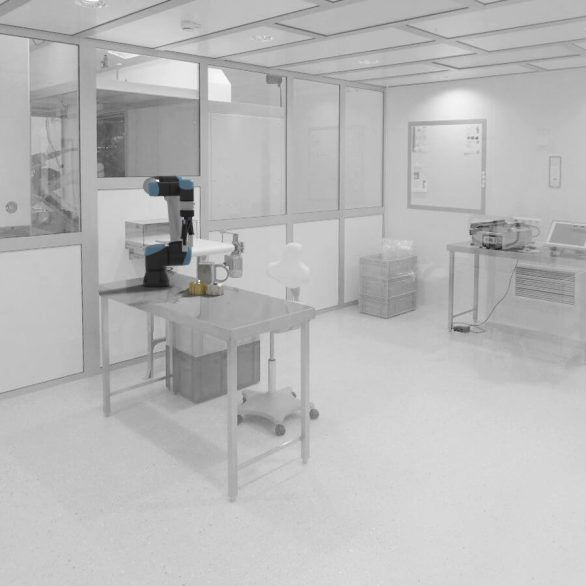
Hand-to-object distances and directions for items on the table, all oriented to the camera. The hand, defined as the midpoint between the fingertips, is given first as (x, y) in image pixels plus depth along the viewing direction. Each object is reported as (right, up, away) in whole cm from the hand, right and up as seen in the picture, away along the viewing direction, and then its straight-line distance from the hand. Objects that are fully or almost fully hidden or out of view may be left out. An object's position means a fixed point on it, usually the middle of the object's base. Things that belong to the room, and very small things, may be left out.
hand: (187, 249), depth 350 cm
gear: (+15, -24, 0) cm, 28 cm away
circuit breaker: (+8, -21, +20) cm, 30 cm away
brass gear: (+5, -24, +1) cm, 24 cm away
